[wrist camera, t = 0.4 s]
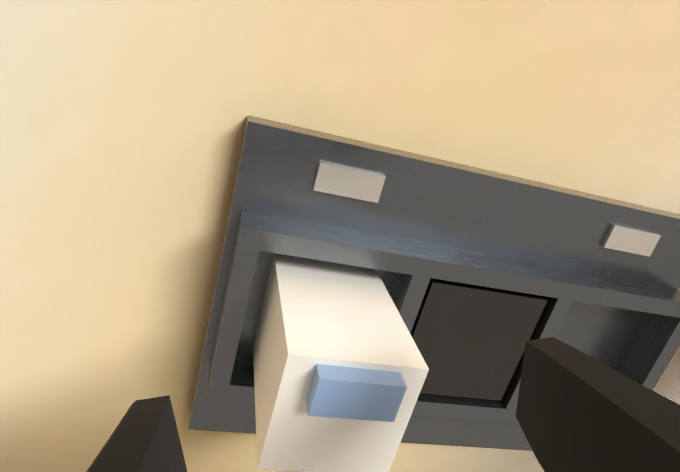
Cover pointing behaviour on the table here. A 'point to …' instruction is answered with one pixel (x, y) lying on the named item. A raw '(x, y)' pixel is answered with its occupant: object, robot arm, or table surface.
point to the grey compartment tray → (441, 274)
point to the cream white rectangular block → (331, 370)
